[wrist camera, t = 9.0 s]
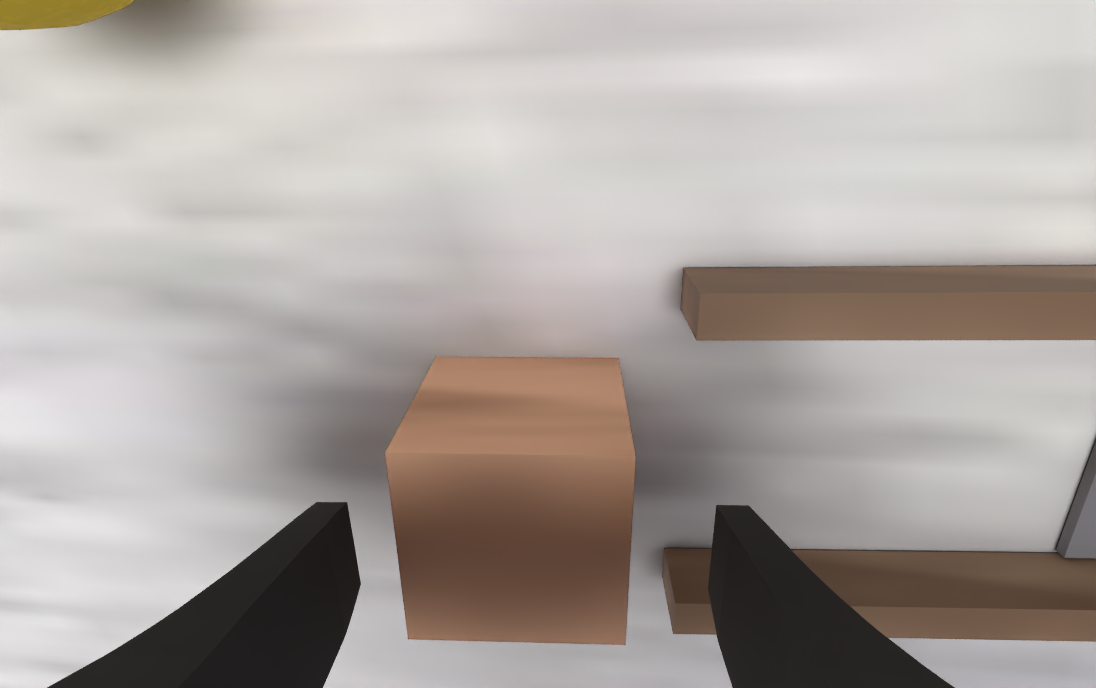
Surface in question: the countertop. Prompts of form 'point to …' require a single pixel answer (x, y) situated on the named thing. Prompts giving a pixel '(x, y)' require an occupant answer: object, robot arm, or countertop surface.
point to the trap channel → (914, 314)
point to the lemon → (54, 12)
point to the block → (515, 501)
